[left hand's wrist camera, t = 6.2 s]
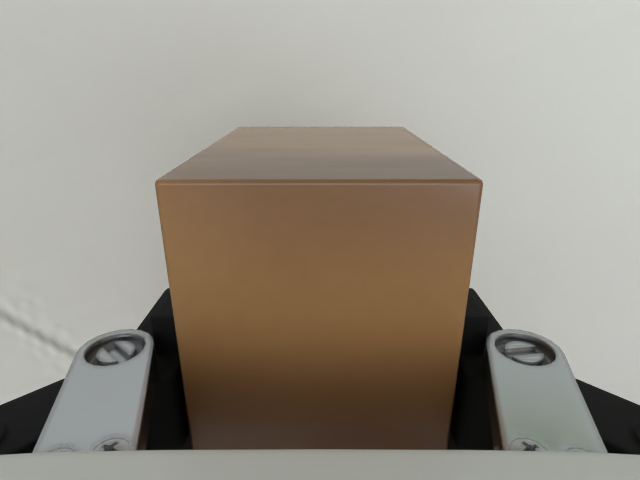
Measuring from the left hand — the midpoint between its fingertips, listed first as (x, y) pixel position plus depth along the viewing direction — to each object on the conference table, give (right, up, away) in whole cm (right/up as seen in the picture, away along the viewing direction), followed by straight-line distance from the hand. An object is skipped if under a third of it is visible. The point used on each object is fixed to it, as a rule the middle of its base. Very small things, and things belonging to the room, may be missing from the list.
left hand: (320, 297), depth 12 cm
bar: (0, -21, +10) cm, 23 cm away
